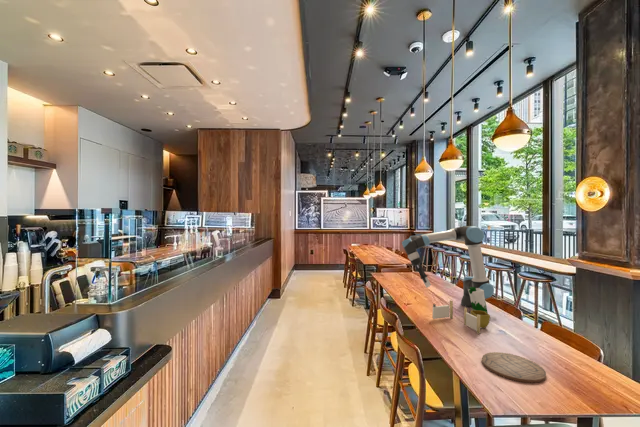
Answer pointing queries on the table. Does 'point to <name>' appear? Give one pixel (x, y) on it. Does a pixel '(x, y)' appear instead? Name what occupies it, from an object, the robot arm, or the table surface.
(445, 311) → the gate
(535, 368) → the trivet
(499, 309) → the table surface
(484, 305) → the milk carton
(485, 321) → the flower pot
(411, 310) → the table surface
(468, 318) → the fence
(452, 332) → the table surface
